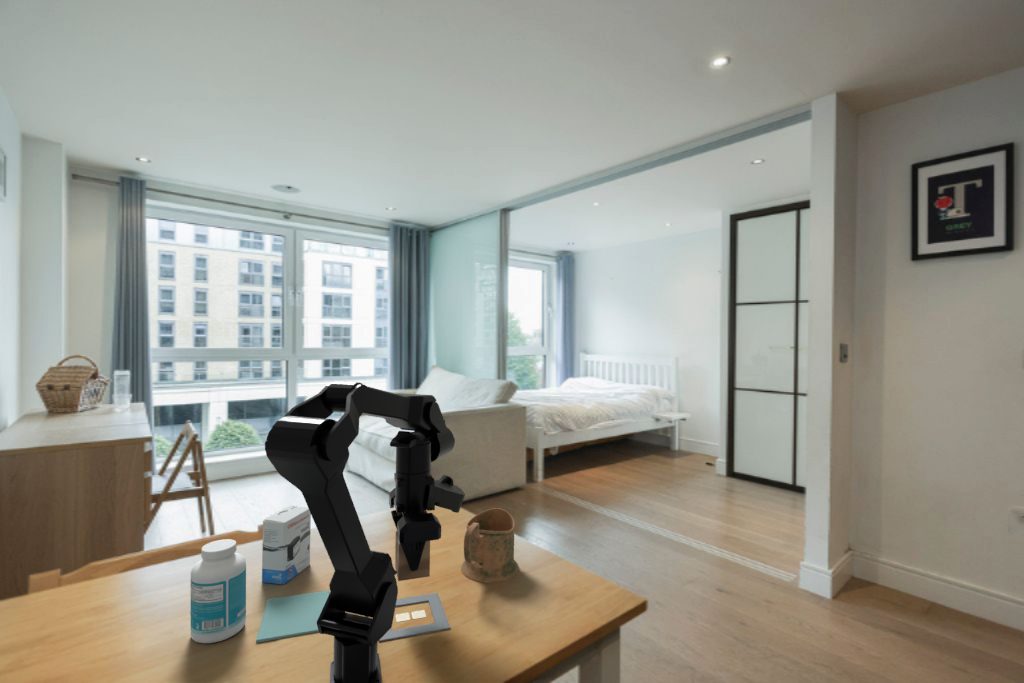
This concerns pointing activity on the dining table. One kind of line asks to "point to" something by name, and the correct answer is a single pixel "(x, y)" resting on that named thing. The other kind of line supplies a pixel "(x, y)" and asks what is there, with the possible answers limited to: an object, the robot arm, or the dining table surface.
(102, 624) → the dining table surface
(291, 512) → the ink box
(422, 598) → the frame
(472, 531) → the mug
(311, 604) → the mat
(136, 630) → the dining table surface
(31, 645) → the dining table surface
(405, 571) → the block
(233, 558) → the pill bottle
